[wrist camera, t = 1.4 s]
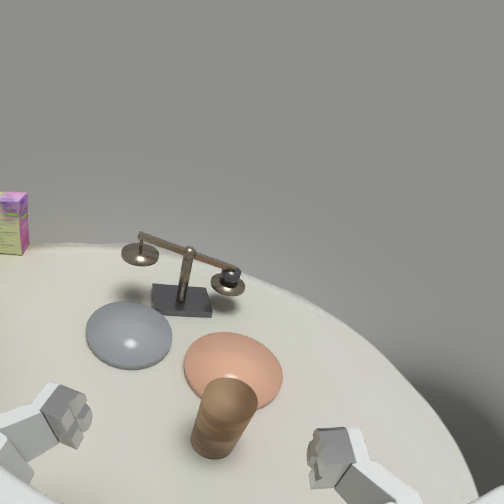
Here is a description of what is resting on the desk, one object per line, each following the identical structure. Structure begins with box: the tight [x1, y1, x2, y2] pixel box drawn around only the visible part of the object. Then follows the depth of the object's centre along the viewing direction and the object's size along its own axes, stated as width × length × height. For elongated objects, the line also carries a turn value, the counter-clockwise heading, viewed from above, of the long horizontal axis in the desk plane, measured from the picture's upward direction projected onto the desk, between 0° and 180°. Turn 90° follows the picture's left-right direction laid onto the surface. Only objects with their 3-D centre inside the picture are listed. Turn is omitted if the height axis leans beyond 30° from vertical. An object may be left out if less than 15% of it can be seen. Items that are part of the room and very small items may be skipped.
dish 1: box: [86, 302, 172, 370], centre depth 38 cm, size 13×13×1 cm
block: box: [191, 377, 258, 459], centre depth 25 cm, size 5×5×10 cm
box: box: [0, 192, 29, 255], centre depth 41 cm, size 10×6×12 cm, turn 112°
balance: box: [121, 231, 245, 318], centre depth 46 cm, size 21×7×13 cm, turn 107°
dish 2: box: [184, 332, 283, 409], centre depth 38 cm, size 14×14×1 cm
